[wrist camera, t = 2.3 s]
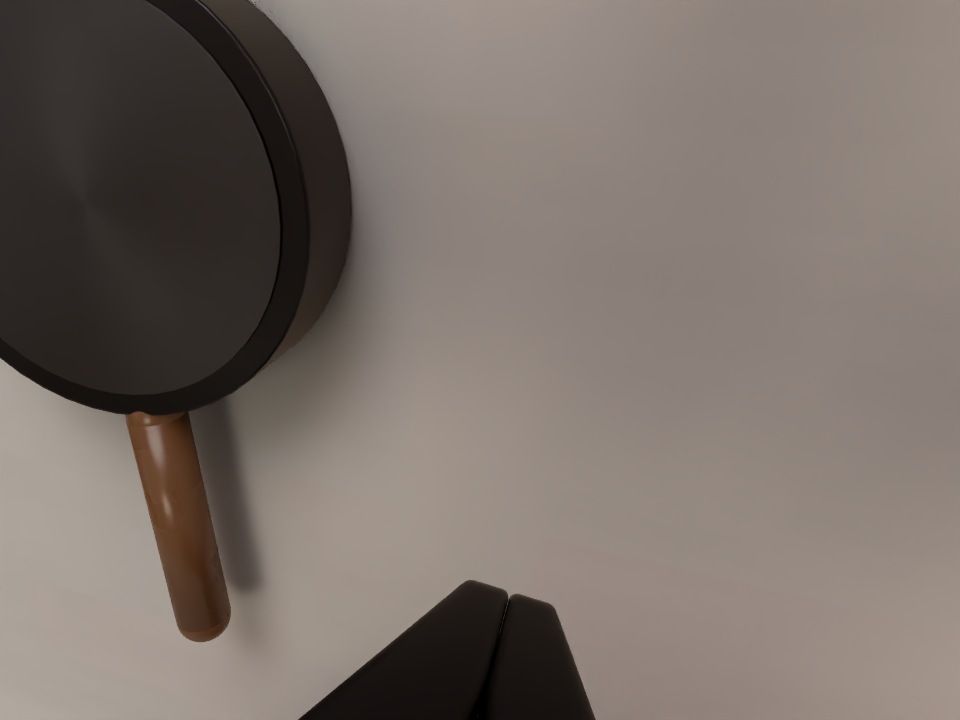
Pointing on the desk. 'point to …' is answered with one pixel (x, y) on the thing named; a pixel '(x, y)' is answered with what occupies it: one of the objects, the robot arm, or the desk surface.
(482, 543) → the desk surface
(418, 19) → the desk surface
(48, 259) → the pan
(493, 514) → the desk surface
